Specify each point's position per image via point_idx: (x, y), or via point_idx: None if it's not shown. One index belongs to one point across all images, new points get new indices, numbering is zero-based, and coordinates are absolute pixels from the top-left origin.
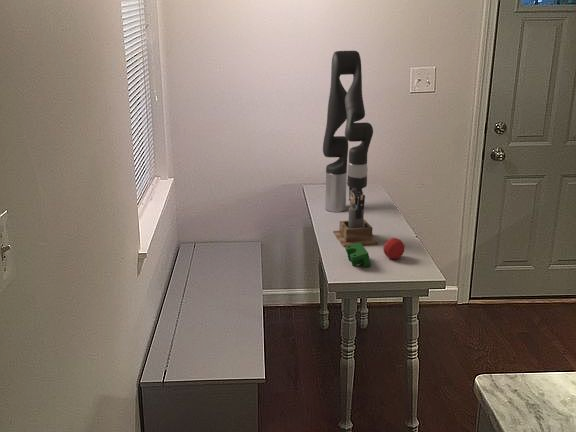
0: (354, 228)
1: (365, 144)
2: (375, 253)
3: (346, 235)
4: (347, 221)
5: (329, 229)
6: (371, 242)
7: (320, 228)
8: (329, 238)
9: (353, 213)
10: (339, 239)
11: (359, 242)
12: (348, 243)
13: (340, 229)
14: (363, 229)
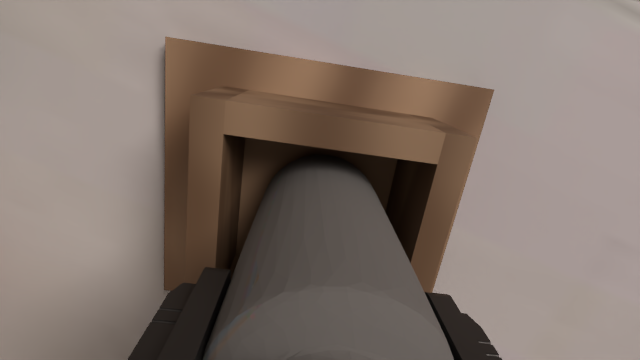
0: (208, 188)
1: None
2: (17, 203)
3: (208, 90)
4: (431, 207)
5: (572, 95)
6: (170, 249)
7: (632, 34)
8: (394, 8)
9: (240, 284)
10: (299, 58)
11: None
12: (185, 88)
13: (413, 119)
14: (188, 258)
